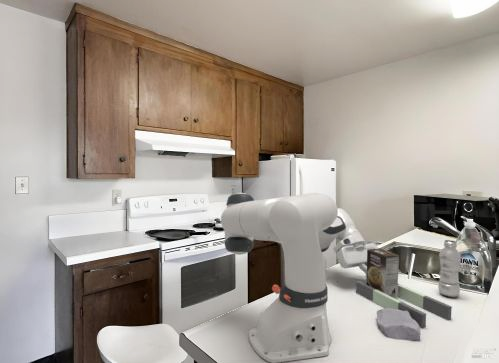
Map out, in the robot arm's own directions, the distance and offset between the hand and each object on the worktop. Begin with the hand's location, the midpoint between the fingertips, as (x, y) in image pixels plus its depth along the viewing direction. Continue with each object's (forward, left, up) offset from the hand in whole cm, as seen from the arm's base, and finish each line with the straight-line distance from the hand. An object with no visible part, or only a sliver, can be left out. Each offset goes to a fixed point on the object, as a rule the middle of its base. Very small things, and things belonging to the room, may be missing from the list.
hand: (371, 275), depth 107 cm
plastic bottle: (+22, -15, -6) cm, 27 cm away
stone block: (-14, -22, -6) cm, 27 cm away
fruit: (+19, +8, -6) cm, 22 cm away
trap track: (-1, -13, -6) cm, 14 cm away
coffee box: (0, -5, -6) cm, 8 cm away
